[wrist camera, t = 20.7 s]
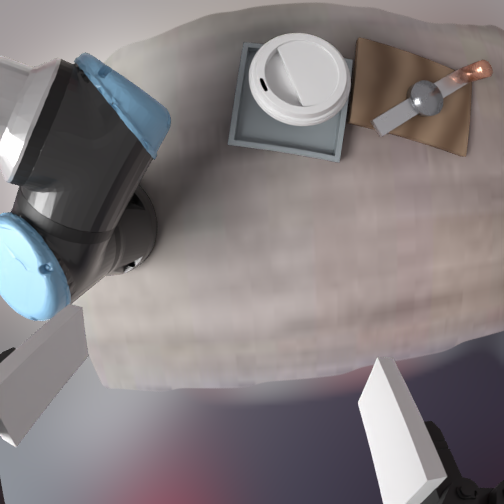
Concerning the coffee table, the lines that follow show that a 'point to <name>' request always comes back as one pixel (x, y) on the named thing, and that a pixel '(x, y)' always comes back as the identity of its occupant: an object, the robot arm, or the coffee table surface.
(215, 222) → the coffee table surface
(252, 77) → the coffee cup
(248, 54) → the tray
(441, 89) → the crank
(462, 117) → the crank base
